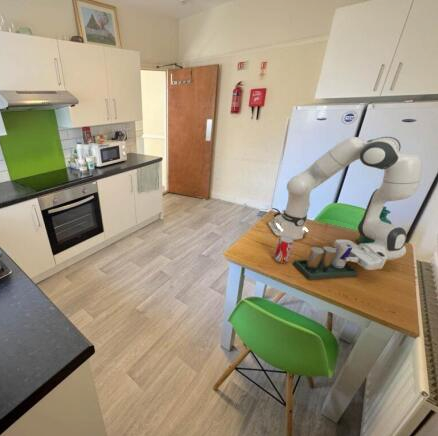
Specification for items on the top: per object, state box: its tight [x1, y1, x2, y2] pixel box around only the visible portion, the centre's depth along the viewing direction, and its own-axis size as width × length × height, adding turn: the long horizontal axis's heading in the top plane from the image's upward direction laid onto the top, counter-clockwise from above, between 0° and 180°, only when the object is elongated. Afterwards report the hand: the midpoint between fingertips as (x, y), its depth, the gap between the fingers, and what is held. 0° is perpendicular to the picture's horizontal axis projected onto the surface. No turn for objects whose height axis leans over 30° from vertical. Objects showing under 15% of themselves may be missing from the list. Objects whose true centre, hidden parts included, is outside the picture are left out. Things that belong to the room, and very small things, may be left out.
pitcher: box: [357, 205, 393, 245], centre depth 130 cm, size 10×8×22 cm
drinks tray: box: [293, 258, 359, 281], centre depth 117 cm, size 12×24×2 cm, turn 94°
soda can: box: [273, 236, 295, 264], centre depth 122 cm, size 7×7×13 cm
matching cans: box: [305, 245, 336, 273], centre depth 114 cm, size 5×11×12 cm, turn 94°
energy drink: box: [331, 242, 352, 268], centre depth 114 cm, size 5×5×12 cm
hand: (339, 254), depth 113 cm, fingers closed on energy drink, 5 cm apart
